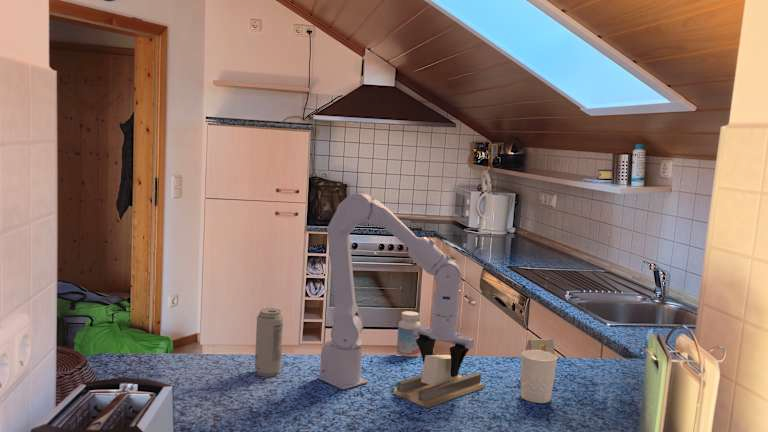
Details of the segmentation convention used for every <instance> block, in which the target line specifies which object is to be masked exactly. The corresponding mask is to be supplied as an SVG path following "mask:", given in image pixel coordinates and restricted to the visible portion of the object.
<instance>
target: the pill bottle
mask: <svg viewBox="0 0 768 432" xmlns="http://www.w3.org/2000/svg"><path fill="white" fill-rule="evenodd" d="M419 319H420V313H419V312H416V311H412V310H410V311H409V310H405V311H402V312H401V320H400V321H399V322H398V326H397V327H398V328H397V341H396V353H397V355H398V356H401V357H407V358H414V357H415V358H416V357H417V356H418V355H420V349H419V347H418V345H417V343H416V339H418V338H419V336H416V335H414V328H415V327H417V326H422V325H421V322H420V321H419Z"/></svg>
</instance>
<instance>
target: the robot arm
mask: <svg viewBox="0 0 768 432" xmlns="http://www.w3.org/2000/svg"><path fill="white" fill-rule="evenodd" d="M367 218H368V221H367V223H368V224H372V225H373V224H374V225H377V226H378V225H380V226H382V227H383V228H384V229H385V230H387V231H388V232H389V233H390V234H391V235H393V236H394V237H395V238H396V239H397V240H398V241H399V242H401V243H402V244H403V246H404V245H405V246H406V247H407V249H408V251H407V252H408V253H407V254H408V257H409V258H410V259H411V260H413V261H414V262H415V263H416V264H417V265H418V266H419V267H420V268H421V269H422V270H423V271H425V272H426V273H427V274H428V275H431V276H433V279H434V280H433V281H434V282H435V287H434V288H435V290H434V292H433V298H432V299H433V300H432V314H431V327H429V326H423V325H421V326H417V327H415V328H414V335H416V336H419V338H418V339H416V343H417V345H418V347H419V349H420V350H419V353H420V354H421V357H422V358H421V359H422V364H423V365H424V360H425V355H434V354H433V353H434V348H435V344H436V341H441V342H444V343H448V344H452V345H453V346H451V347H449V354H450V356H451V372H450V373H451V377H455V376H457V375H458V372H459V373H460V368H461V366H462V363H463V361H464V359H465V357H466V355H467V354H468V353H469V350H470V349H472V348H474V345H475V342H474V341H475V339H474V338H472V337H469V336H466V335H463V334H461V333H459V332H457V327H458V315H459V314H458V313H459V303H460V302H459V300H460V294H459V291H460V286H459V285H460V284H461V281H462V277H461V276H462V275H461V274H462V273H461V269H460V265H458V263H457V262H456V260H454V259H451V256H450V255H449V254H445V253H444V252H443V251H442V250H441V249H439V247H437V246H436V241H435V240H434V239H432V238H430V239H428V238H427V237H426V236H417V235H416V234H415V233H414V232H413V231H412V230H411V229H409V227H407V226H406V225H405V224H404V223H403V222H402V220H401V219H399V218H398V217H397V216H396V214H394V213H393V212H392V210H390V209H389V208H388V207H387V206H385V204H383V203H382V202H380V200H378V199H374V197H373V196H372V195H371V194H370V193H368V192H367V191H357V192H355V193H352V194H349V195H348V196H347V197H345V198H344V199H343V200H342V201H341V202H340V203H339V204H338V205H337V208H336V210H335V212H334V214H333V217H332V218H331V219H330V221H329V224H328V225H327V231H326V233H327V241H328V252H329V263H330V271H331V272H330V273H331V283H332V291H333V292H332V294H333V301H334V306H333V307H334V308H333V316H332V318H333V319H332V320H333V325H332V328H331V331H330V337H331V338H330V339H329V340H327V341H326V342H325V343H324V344H323V346H322V348H321V352H320V366H319V368H320V369H319V375H316V378H317V379H319V380H321V381H322V382H326V383H327V384H329V385H332V386H334V387H335V388H338V389H341V390H348V389H350V388H354V387H358V386H361V385H364V384H367V383H369V380H367V379H366V378H363V377H361V373H362V372H361V371H362V354H363V352H362V351H363V342H362V340H361V339H360V335H361V333H362V332H363V329H364V320H363V318H362V317H361V315H360V313H359V307H358V304H357V301H356V293H355V291H356V290H355V283H354V282H355V281H354V273H353V272H354V269H353V259H352V251H351V249H352V248H351V239H350V234H351V232H352V231H353V230H354V229H355V228H356V227H358V225H359V224H361V222H363V221H365V220H366V219H367Z"/></svg>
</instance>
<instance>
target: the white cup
mask: <svg viewBox="0 0 768 432" xmlns="http://www.w3.org/2000/svg"><path fill="white" fill-rule="evenodd" d="M520 359H521V360H520V361H521V363H520V398H522V399H523V400H525V401H527V402H531V403H535V404H536V403H537V404H545V403H549V402H551V400H552V395H553V394H552V393H553V388H554V382H555V377H556V370H557V362H558V361H557V360H558V357H557V356H556V354H555V355H554V354H552V353H549V352H545V351H540V350H526V351H525V350H524V351H522V352H521V356H520Z"/></svg>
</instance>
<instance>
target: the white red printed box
mask: <svg viewBox="0 0 768 432" xmlns="http://www.w3.org/2000/svg"><path fill="white" fill-rule="evenodd" d="M526 350H540V351H545V352H549V353H552V354H554V355H555V356H556V353H555V346H554V339H553V338H540V339H539V338H538V339H528V341H527V343H526V346H525V349H524V351H526Z"/></svg>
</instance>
